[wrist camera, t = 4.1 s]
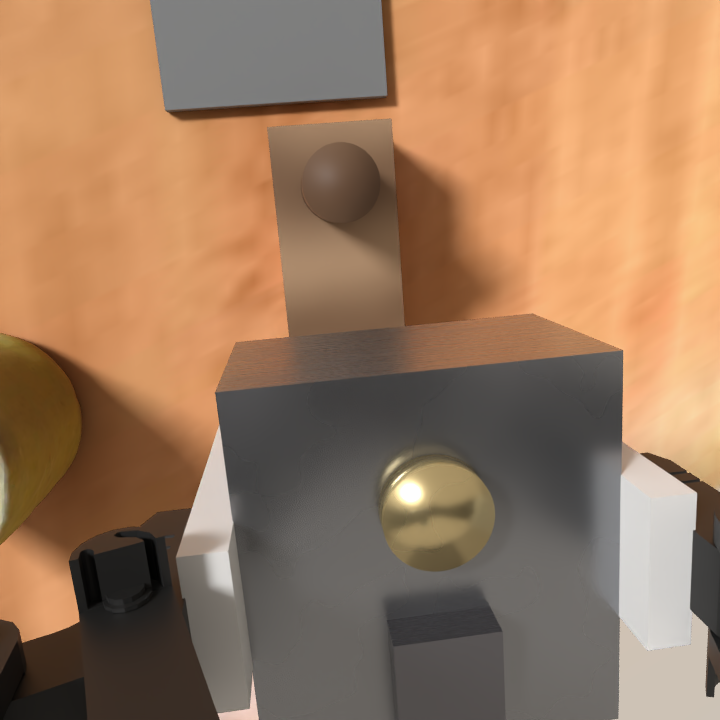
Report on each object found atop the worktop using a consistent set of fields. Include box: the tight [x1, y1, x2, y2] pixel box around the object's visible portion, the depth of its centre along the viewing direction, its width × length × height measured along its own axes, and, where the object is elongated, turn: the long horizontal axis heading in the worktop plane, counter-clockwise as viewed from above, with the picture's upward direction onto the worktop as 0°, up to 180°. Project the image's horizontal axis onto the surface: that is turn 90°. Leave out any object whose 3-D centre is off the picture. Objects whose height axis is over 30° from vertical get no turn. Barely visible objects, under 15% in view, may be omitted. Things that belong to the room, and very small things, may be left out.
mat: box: [150, 0, 387, 112], centre depth 29 cm, size 10×8×1 cm
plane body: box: [267, 119, 405, 337], centre depth 28 cm, size 17×5×8 cm, turn 4°
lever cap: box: [215, 314, 623, 720], centre depth 13 cm, size 7×6×5 cm
